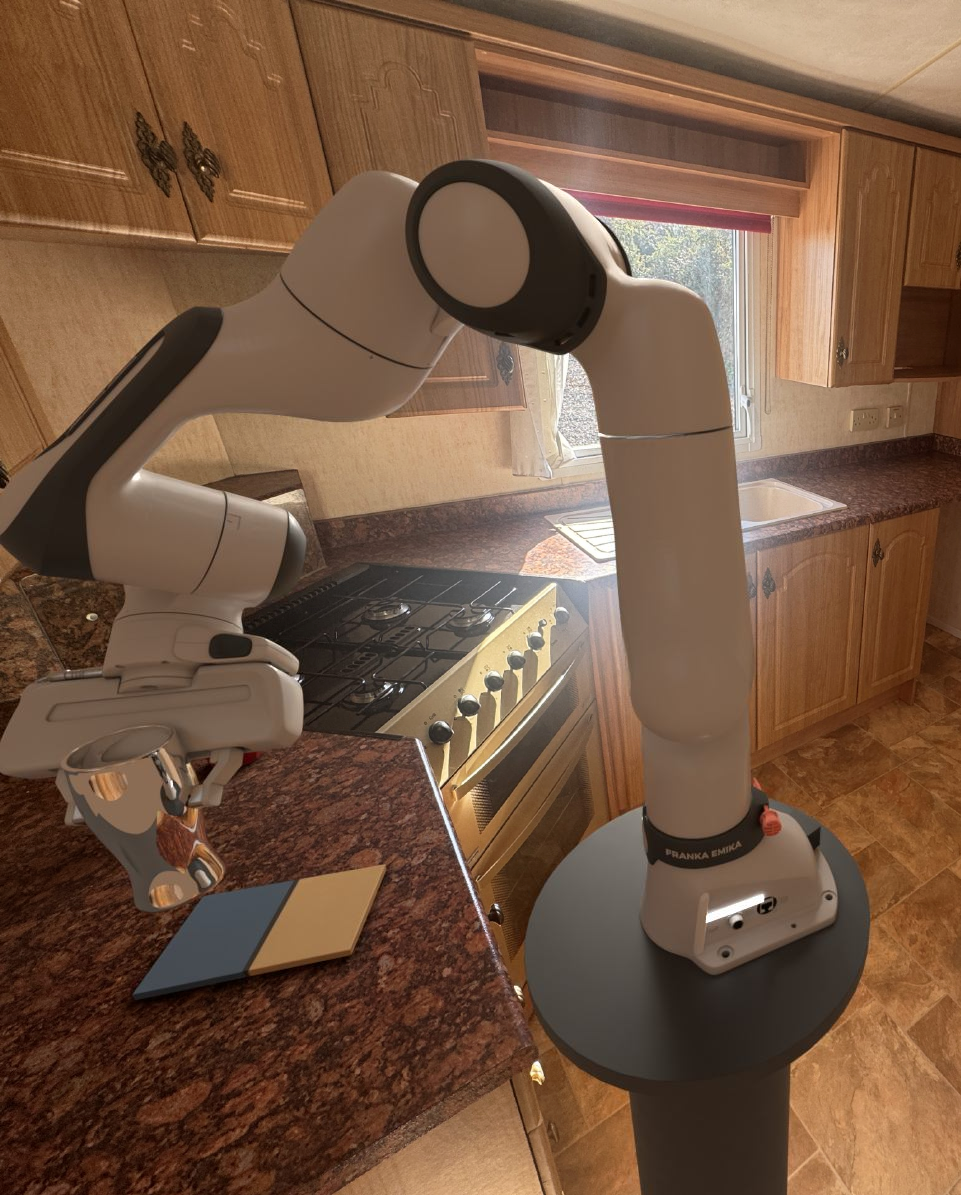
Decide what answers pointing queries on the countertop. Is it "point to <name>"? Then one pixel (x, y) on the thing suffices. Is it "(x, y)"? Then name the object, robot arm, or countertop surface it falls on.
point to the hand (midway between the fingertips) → (145, 815)
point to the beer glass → (146, 818)
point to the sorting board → (265, 930)
